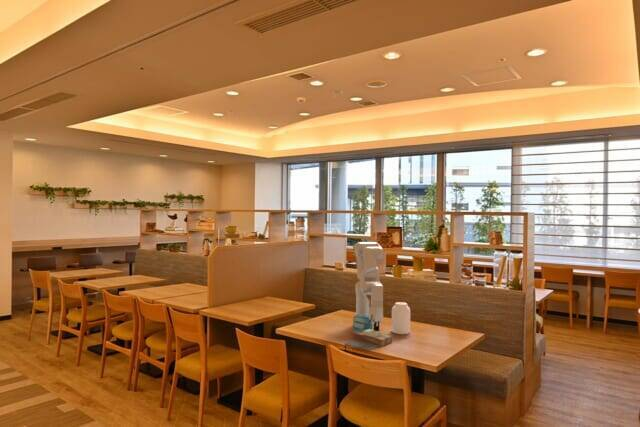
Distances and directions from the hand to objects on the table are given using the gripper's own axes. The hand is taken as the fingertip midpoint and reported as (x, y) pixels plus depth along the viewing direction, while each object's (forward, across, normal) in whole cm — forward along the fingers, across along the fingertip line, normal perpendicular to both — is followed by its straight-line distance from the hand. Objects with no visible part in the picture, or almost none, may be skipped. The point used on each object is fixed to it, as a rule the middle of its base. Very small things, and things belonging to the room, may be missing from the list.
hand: (376, 331), depth 278 cm
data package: (+5, -5, -14) cm, 16 cm away
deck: (+5, +3, 0) cm, 6 cm away
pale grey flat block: (+1, +5, 0) cm, 5 cm away
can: (+5, -27, +2) cm, 27 cm away
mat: (+5, +15, 0) cm, 16 cm away
